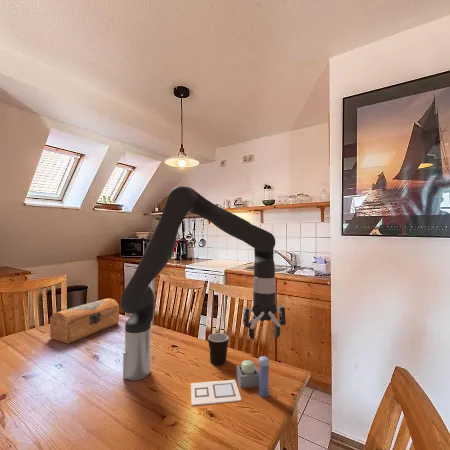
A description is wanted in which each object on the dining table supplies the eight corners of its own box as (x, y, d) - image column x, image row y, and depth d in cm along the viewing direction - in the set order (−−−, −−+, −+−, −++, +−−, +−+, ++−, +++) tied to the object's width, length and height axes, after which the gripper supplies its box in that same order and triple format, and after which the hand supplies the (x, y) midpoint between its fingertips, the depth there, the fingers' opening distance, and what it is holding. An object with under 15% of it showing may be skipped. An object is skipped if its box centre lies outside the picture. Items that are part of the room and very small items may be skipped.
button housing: (240, 388, 88) (240, 376, 88) (236, 376, 95) (236, 365, 95) (259, 386, 89) (259, 375, 89) (254, 375, 96) (254, 364, 96)
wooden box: (68, 345, 120) (69, 315, 120) (48, 338, 127) (49, 310, 127) (121, 324, 146) (121, 300, 146) (102, 319, 154) (102, 296, 154)
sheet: (191, 405, 79) (191, 404, 79) (190, 384, 90) (190, 382, 90) (241, 401, 82) (241, 399, 82) (235, 380, 93) (235, 379, 93)
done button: (243, 380, 90) (243, 367, 90) (240, 372, 94) (240, 360, 94) (255, 379, 90) (255, 366, 90) (252, 371, 95) (252, 359, 95)
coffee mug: (226, 368, 101) (226, 342, 101) (205, 365, 102) (205, 340, 103) (231, 354, 112) (231, 331, 112) (212, 352, 114) (212, 329, 114)
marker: (260, 398, 83) (260, 361, 83) (257, 392, 86) (257, 356, 86) (270, 397, 83) (270, 361, 84) (267, 391, 87) (267, 355, 87)
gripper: (246, 293, 81) (246, 344, 81) (288, 291, 84) (288, 341, 83) (241, 288, 89) (241, 334, 89) (280, 286, 91) (280, 332, 91)
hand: (264, 337), depth 86 cm, fingers open, 8 cm apart
